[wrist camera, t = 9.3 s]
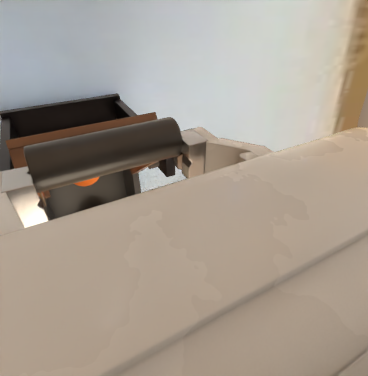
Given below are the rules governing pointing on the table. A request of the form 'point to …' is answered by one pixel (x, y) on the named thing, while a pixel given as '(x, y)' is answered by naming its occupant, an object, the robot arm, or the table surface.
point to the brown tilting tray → (96, 150)
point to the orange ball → (87, 182)
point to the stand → (64, 122)
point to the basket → (92, 193)
